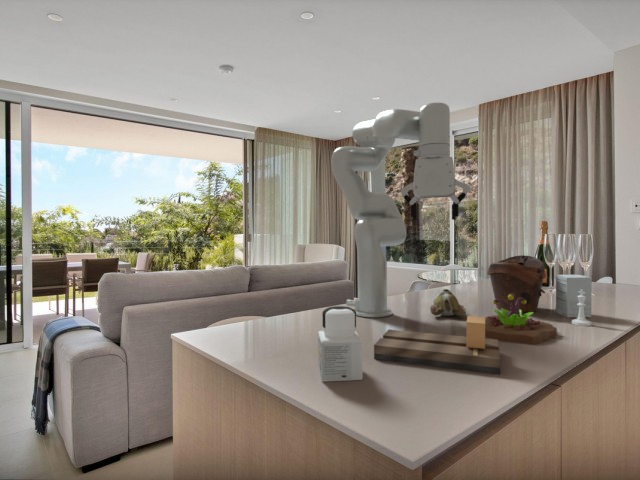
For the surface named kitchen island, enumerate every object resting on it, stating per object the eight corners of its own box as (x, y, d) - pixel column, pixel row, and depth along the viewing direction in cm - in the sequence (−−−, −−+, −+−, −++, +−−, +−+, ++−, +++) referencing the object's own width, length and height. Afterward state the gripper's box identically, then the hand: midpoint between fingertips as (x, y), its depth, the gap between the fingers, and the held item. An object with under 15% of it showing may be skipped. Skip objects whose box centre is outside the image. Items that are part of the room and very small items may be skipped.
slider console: (374, 358, 86) (374, 344, 86) (388, 341, 99) (388, 328, 99) (500, 374, 77) (500, 357, 76) (498, 352, 89) (498, 338, 89)
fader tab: (466, 356, 83) (466, 322, 82) (467, 348, 88) (467, 316, 88) (484, 358, 81) (485, 323, 81) (485, 350, 87) (485, 317, 87)
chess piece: (585, 326, 111) (585, 291, 111) (567, 323, 116) (567, 289, 115) (595, 324, 114) (595, 290, 113) (577, 321, 118) (577, 287, 118)
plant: (460, 334, 106) (461, 292, 106) (487, 321, 120) (487, 284, 120) (544, 349, 92) (545, 302, 92) (563, 332, 107) (563, 291, 106)
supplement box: (578, 312, 129) (579, 274, 129) (592, 318, 122) (592, 277, 121) (554, 312, 130) (555, 274, 129) (566, 317, 122) (567, 277, 122)
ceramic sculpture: (460, 284, 134) (467, 295, 119) (460, 310, 134) (467, 323, 120) (427, 284, 136) (431, 294, 121) (428, 309, 136) (431, 322, 122)
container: (318, 367, 81) (317, 304, 81) (355, 366, 82) (355, 303, 81) (321, 382, 73) (321, 312, 73) (362, 380, 74) (362, 311, 74)
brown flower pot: (496, 314, 127) (496, 259, 127) (481, 302, 147) (481, 254, 146) (556, 316, 124) (557, 259, 124) (533, 304, 144) (533, 254, 143)
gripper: (397, 153, 102) (397, 220, 102) (469, 148, 95) (469, 219, 96) (403, 158, 109) (403, 220, 109) (470, 153, 102) (470, 219, 103)
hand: (434, 220), depth 103 cm, fingers open, 9 cm apart
